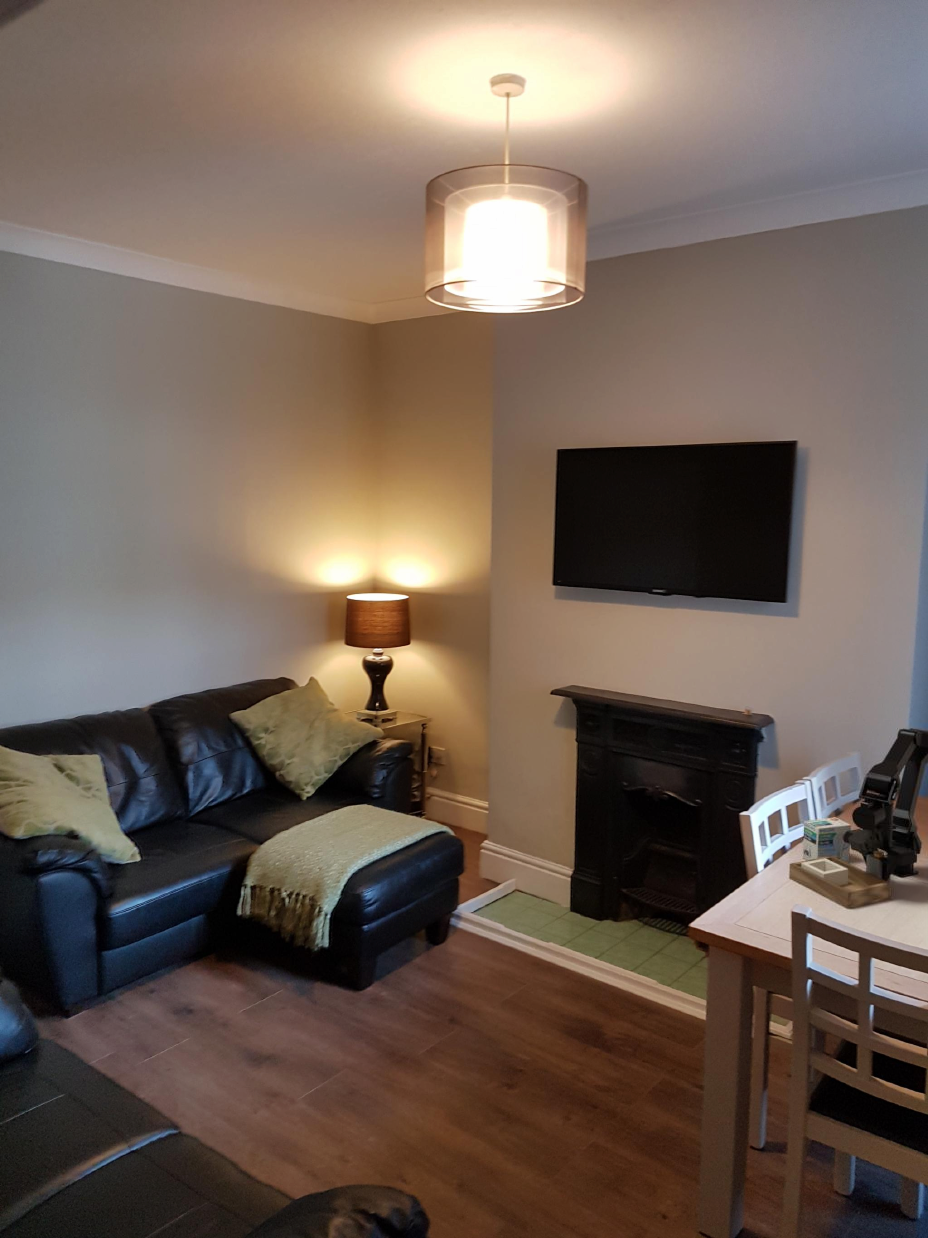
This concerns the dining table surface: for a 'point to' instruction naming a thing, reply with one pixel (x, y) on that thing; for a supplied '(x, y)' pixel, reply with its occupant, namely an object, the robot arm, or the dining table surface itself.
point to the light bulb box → (826, 839)
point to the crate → (853, 894)
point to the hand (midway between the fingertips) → (877, 878)
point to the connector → (875, 864)
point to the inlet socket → (828, 871)
